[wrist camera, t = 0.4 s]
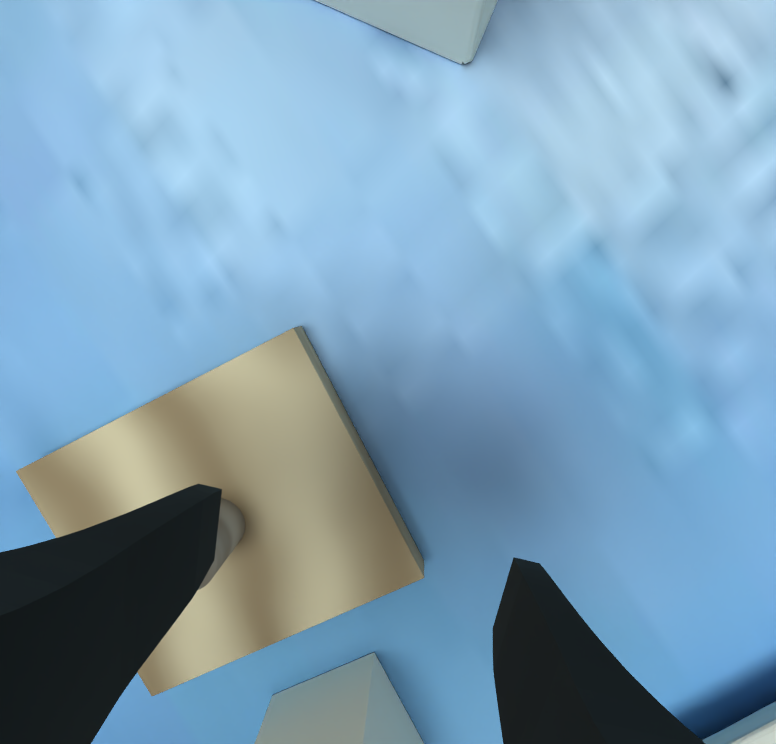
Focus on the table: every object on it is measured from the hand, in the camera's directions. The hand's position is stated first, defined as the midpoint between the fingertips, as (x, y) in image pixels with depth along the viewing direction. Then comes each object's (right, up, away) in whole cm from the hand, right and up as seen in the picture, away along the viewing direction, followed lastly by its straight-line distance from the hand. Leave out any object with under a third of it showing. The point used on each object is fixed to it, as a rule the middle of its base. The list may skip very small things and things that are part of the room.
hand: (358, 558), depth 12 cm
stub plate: (-7, -2, +11) cm, 13 cm away
